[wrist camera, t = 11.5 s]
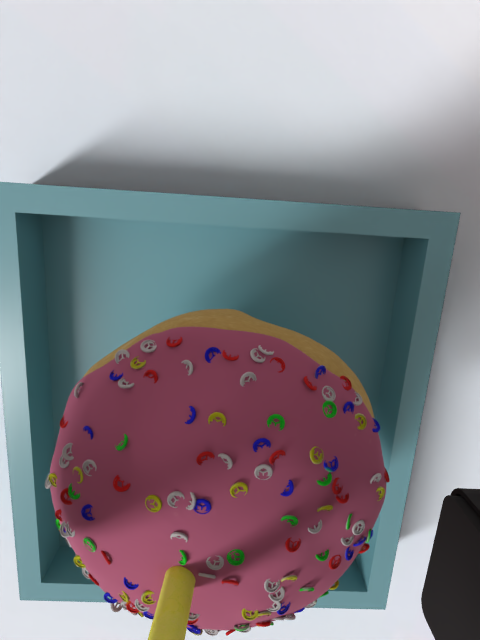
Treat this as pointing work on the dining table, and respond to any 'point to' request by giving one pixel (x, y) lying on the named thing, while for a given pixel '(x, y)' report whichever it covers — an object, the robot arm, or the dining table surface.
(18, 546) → the tray
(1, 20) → the dining table surface
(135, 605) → the cupcake
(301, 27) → the dining table surface
